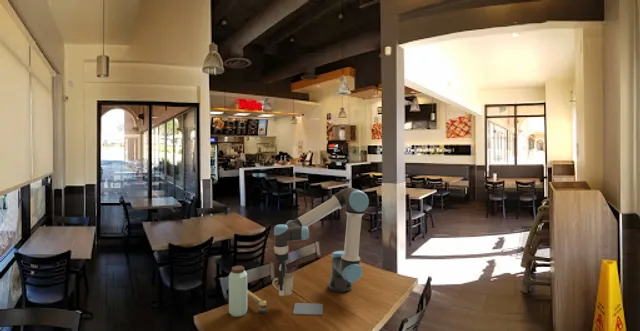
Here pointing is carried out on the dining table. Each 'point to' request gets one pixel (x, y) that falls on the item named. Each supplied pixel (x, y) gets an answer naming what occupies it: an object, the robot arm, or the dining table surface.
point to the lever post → (263, 310)
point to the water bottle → (238, 291)
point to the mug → (286, 283)
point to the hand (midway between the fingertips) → (282, 292)
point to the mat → (308, 309)
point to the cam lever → (257, 299)
